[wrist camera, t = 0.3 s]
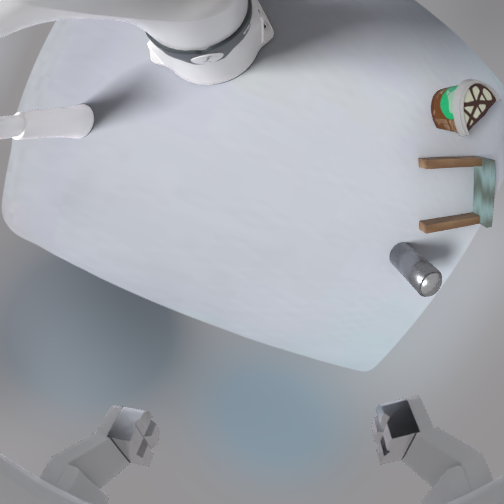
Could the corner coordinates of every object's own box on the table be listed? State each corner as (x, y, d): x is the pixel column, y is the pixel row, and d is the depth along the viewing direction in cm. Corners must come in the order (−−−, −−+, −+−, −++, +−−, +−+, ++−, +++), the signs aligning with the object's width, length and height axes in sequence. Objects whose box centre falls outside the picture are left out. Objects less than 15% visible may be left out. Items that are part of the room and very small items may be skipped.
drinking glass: (390, 244, 48) (421, 274, 37) (411, 240, 47) (445, 268, 37) (389, 268, 50) (417, 301, 39) (410, 263, 49) (441, 294, 39)
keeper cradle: (418, 158, 41) (434, 162, 37) (478, 156, 40) (495, 160, 36) (419, 228, 47) (433, 238, 42) (476, 218, 46) (491, 226, 41)
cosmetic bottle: (89, 98, 37) (-4, 92, 16) (98, 129, 39) (5, 140, 19) (63, 114, 37) (-31, 121, 17) (71, 144, 40) (-22, 166, 19)
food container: (450, 71, 34) (484, 66, 25) (466, 98, 36) (501, 99, 27) (413, 103, 38) (448, 101, 28) (432, 132, 39) (467, 137, 30)
